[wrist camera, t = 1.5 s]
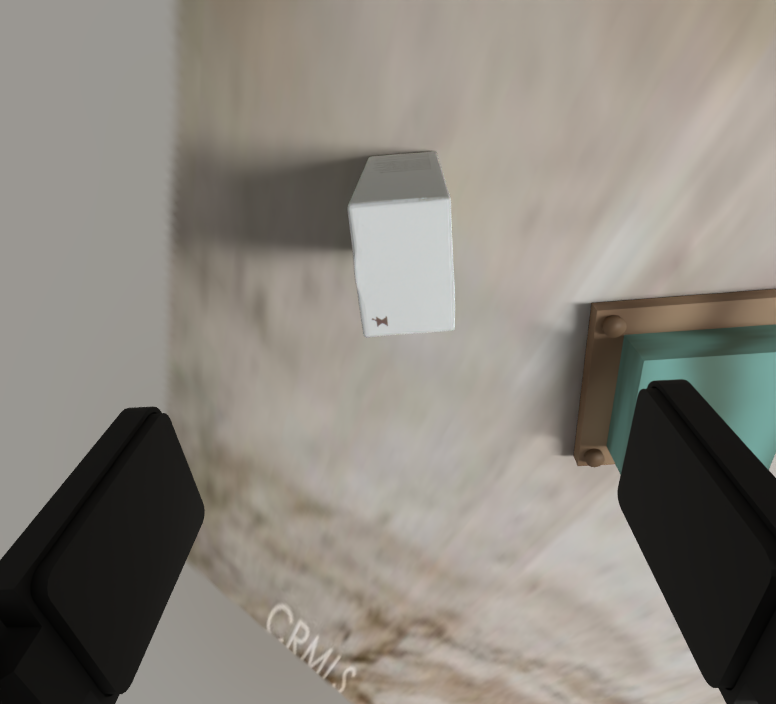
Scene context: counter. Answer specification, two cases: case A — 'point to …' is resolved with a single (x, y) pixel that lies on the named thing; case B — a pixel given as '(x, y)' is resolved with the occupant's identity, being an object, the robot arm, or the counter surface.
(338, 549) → the counter surface
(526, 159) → the counter surface
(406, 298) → the skincare box
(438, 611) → the counter surface
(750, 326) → the tower base
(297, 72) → the counter surface
